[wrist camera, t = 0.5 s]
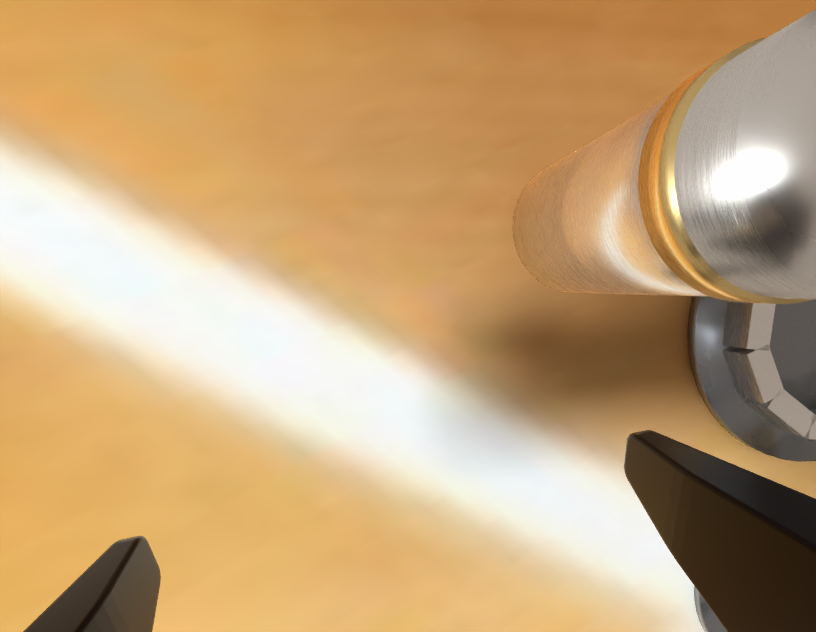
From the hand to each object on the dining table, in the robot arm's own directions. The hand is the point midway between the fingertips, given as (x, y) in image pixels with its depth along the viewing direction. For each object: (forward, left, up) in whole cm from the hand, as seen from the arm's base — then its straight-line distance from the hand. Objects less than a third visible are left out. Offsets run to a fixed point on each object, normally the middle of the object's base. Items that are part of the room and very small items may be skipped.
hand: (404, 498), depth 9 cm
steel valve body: (+2, -12, -13) cm, 18 cm away
